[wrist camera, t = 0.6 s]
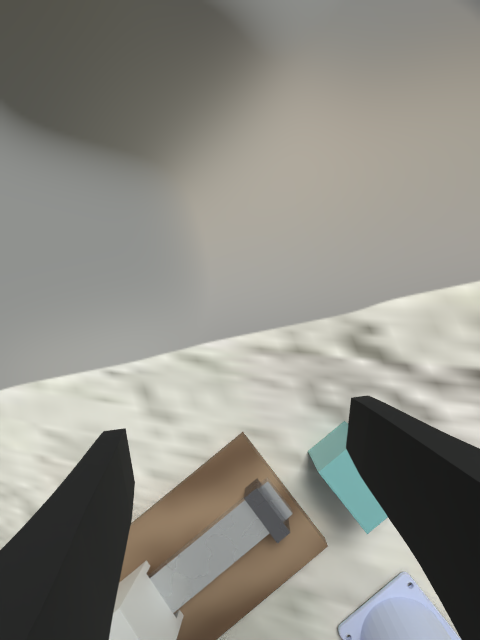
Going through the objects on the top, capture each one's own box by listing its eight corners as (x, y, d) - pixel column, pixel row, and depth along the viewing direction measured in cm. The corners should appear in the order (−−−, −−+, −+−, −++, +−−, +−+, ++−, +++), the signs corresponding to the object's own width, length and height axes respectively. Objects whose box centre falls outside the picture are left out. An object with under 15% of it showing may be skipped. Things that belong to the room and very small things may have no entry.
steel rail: (295, 513, 28) (298, 526, 26) (111, 666, 28) (98, 692, 26) (263, 472, 29) (264, 481, 27) (82, 621, 28) (68, 643, 26)
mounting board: (324, 538, 29) (327, 546, 28) (136, 695, 28) (131, 710, 27) (242, 431, 30) (242, 434, 29) (63, 579, 30) (55, 588, 29)
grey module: (183, 615, 28) (164, 678, 22) (143, 648, 28) (114, 720, 22) (146, 560, 29) (119, 608, 23) (107, 592, 28) (71, 648, 23)
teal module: (384, 470, 29) (413, 495, 24) (347, 501, 29) (367, 534, 24) (344, 421, 30) (362, 435, 25) (307, 451, 30) (318, 472, 24)
